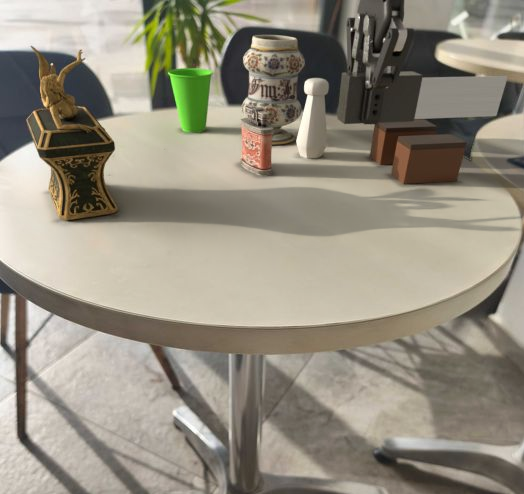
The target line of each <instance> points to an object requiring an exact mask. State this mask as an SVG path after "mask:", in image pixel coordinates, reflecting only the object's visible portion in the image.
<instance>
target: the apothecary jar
mask: <svg viewBox="0 0 524 494" xmlns="http://www.w3.org/2000/svg"><path fill="white" fill-rule="evenodd" d="M298 43H299V42H298V39H297V38H296V37H294V36H288V35H280V34H279V35H278V34H255V35H252V39H251V44H250V48H249V49H248V50H247V51H246V52H245V53H244V55H243V57H242V63H243V67H244V68H245V69H246V70H247V71H248V92H247V96H246V97H245V99H244V100H243V102H242V104H241V113H242V115H243V116H244V118H249V116H250V115H249V114H247V113H245V106H246V105H247V104H250V105H253V106H255V107H256V108H257V107H263V109H264V111H265V112H267V113H268V120H267V124H269V125H271V126H272V127H273V133H272V146H277V145H287V144H290V143H292V142H294V141H295V135H294V134H293V133H291V132H289V131H287V130H285V129H284V128H282V127H284V126H288V125H290V124H293V123H295V122H296V121H297V120H298V119H299V118H300V116H301V115H302V111H303V110H302V105H301V102H300V101H299V100H298V99H297V95H298V91H297V90H298V79H299V73H301V71H302V70H304V67H305V65H306V64H305V63H306V62H305V61H306V60H305V58H304V54H303V53H301V52H300V50H299V47H298Z"/></svg>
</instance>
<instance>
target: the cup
mask: <svg viewBox="0 0 524 494" xmlns="http://www.w3.org/2000/svg"><path fill="white" fill-rule="evenodd" d="M167 74H168V76H169V77H170V83H171V88H172V92H173V96H174V100H175V104H176V110H177V115H178V119H179V123H180V128H181V129H182V131H183V132H185V133H195V134H196V133H202V132H204V131H206V128H207V120H208V119H207V118H208V109H209V100H210V89H211V79H212V75H214V73H213V71H212V70H211V69H206V68H197V67H181V68H174V69H170V70H169V71H168V72H167Z"/></svg>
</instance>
